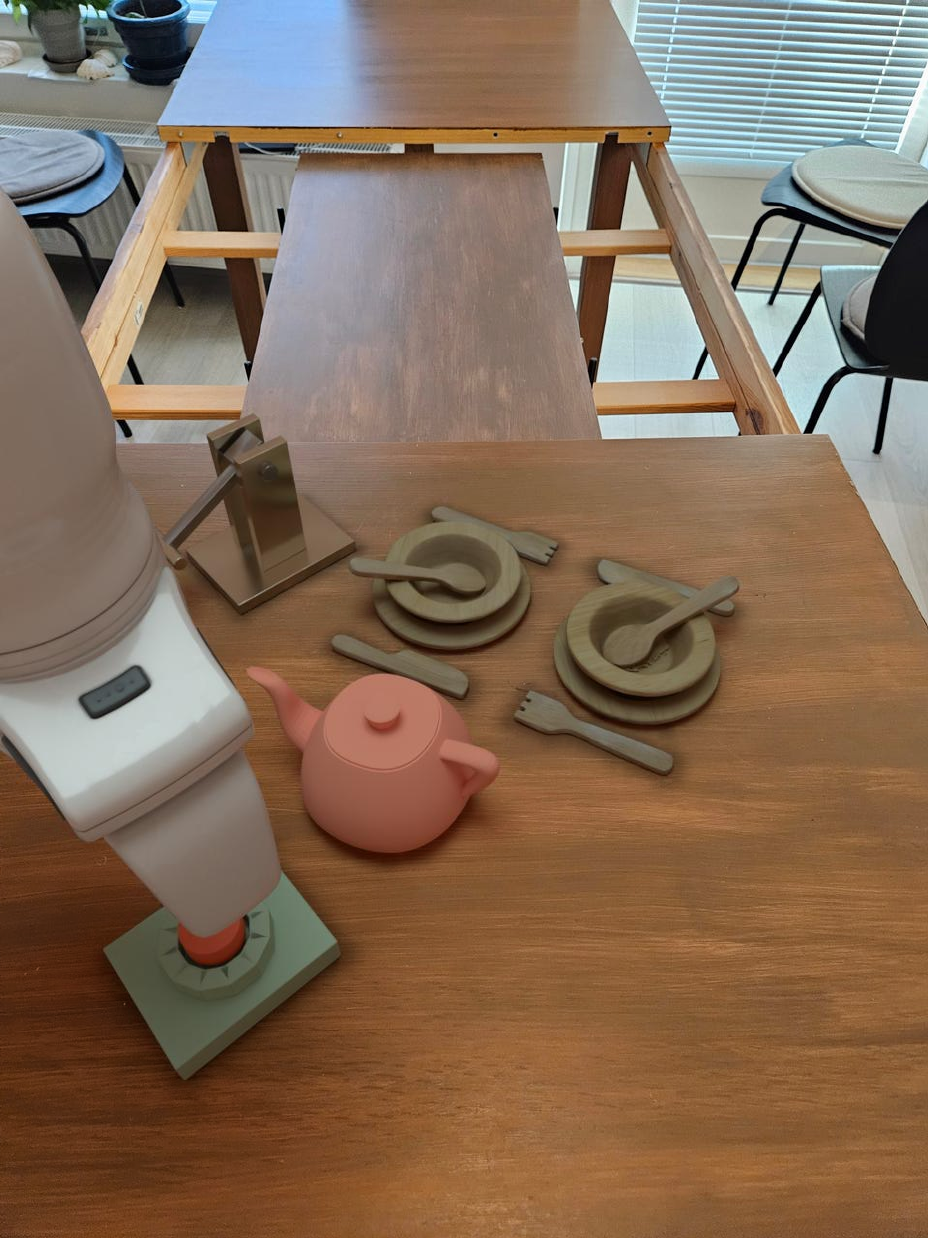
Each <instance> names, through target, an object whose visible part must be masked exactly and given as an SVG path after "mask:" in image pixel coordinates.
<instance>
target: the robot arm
mask: <svg viewBox="0 0 928 1238" xmlns="http://www.w3.org/2000/svg"><path fill="white" fill-rule="evenodd" d="M155 527H156V526H155V523H154V521H153V518H152V514H151V513H150V510H149V509H148V507H147V504H146V502H145V500H144V498H143V497H142V495H141V494H140V493H139V491H138V490H137V489H136V488H135V485H133V483H132V482H131V481H130V480H129V479H128V477H126V475H125V474H124V472H123V471H122V469H121V467H120V464H119V462H118V457H117V430H116V422H115V417H114V414H113V410H112V407H111V404H110V401H109V398H108V396H107V394H106V391H105V388H104V386H103V383H102V380H101V378H100V376H99V373H98V370H97V368H96V365H95V363H94V360H93V358H92V355H91V353H90V350H89V348H88V346H87V343H86V340H85V338H84V336H83V333H82V332H81V329H80V327H79V325H78V323H77V321H76V318H75V316H74V313H73V311H72V308H71V306H70V305H69V303H68V300H67V298H66V296H65V294H64V291H63V290H62V287H61V285H60V283H59V280H58V279H57V277H56V275H55V273H54V270H53V269H52V267H51V265H50V263H49V261H48V259H47V257H46V255H45V254H44V252H43V249H42V248H41V246H40V244H39V242H38V240H37V238H36V236H35V235H34V233H33V231H32V229H31V228H30V227H29V225H28V223H27V221H26V220H25V218H24V216H23V215H22V213H21V212H20V210H19V209H18V207H17V206H16V204H15V203H14V201H13V200H12V199H11V197H10V196H9V195H8V193H7V192H6V191H5V189H4V188H3V187H2V186H1V185H0V751H1V752H2V753H3V754H5V755H6V756H8V757H9V758H10V759H12V761H14V762H15V763H16V764H17V766H19V768H20V769H21V771H23V772H24V773H25V775H26V776H27V777H29V779H30V780H31V781H32V782H33V783H34V784H35V785H36V787H38V789H39V790H40V791H41V792H42V793H43V795H44V796H45V797H46V798H47V800H48V801H49V802H50V804H51V805H52V807H53V808H54V809H55V810H56V812H57V814H58V815H59V816H60V818H61V819H62V821H67V823H68V825H69V826H70V827H71V829H72V830H73V831H74V833H75V835H76V836H77V837H78V839H80V840H81V841H83V842H86V843H93V842H96V841H98V840H99V839H101V838H102V839H103V840H104V841H105V842H106V844H107V845H108V846H109V847H110V848H111V849H112V850H113V852H114V853H115V854H116V855H117V856H118V857H119V858H120V860H121V861H122V862H123V863H124V864H125V865H126V866H127V868H129V870H130V871H131V872H132V873H133V874H134V876H136V878H137V879H138V880H139V881H141V883H142V884H143V885H144V886H145V888H146V889H148V891H149V893H151V894H152V895H153V896H154V897H155V899H156V900H157V901H158V902H159V903H160V904H161V905H162V907H165V908H166V909H167V910H168V911H169V912H170V913H171V914H172V915H173V916H174V917H175V918H176V919H177V920H178V921H179V923H180V924H181V925H182V926H183V927H184V928H186V929H187V930H188V931H189V932H190V933H192V934H193V935H195V936H197V937H202V938H206V937H210V936H213V935H215V934H217V933H219V932H221V931H222V930H224V929H226V928H227V927H229V926H230V925H232V924H233V923H235V922H236V921H237V920H239V919H240V918H242V917H243V916H245V915H246V914H247V913H249V912H250V911H251V910H252V909H254V908H255V907H256V906H257V905H259V904H260V903H261V902H262V901H263V900H264V899H266V898H267V897H268V896H269V895H270V894H271V893H272V892H273V891H274V890H275V888H276V887H277V885H278V884H279V881H280V878H281V870H282V867H281V859H280V857H279V851H278V847H277V842H276V839H275V835H274V831H273V827H272V823H271V819H270V816H269V812H268V808H267V805H266V802H265V799H264V795H263V793H262V789H261V787H260V784H259V782H258V779H257V776H256V774H255V771H254V770H253V768H252V765H251V762H250V761H249V759H248V757H247V755H246V753H245V751H244V749H243V747H245V746H246V745H247V744H248V743H250V742H251V740H253V739H254V738H255V735H256V728H255V724H254V721H253V717H252V715H251V712H250V709H249V707H248V704H247V702H246V701H245V699H244V698H243V696H242V695H241V693H240V691H239V690H238V688H237V686H236V684H235V683H234V681H233V679H232V678H231V676H230V675H229V673H228V671H227V670H226V668H225V667H224V666H223V665H222V663H221V662H220V660H219V658H218V657H217V656H216V654H215V652H214V651H213V650H212V648H211V646H210V645H209V643H208V642H207V640H206V638H205V636H204V635H203V633H202V631H201V630H200V629H199V628H198V627H197V626H196V625H195V623H194V621H193V619H192V616H191V612H190V610H189V606H188V603H187V600H186V597H185V595H184V593H183V590H182V587H181V585H180V582H179V579H178V577H177V575H176V573H175V571H174V570H173V569H172V568H171V567H170V565H169V564H170V563H169V562H168V561H167V559H166V556H165V553H164V551H163V548H162V545H161V542H160V540H159V537H158V534H157V532H156V529H155Z"/></svg>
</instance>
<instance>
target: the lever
mask: <svg viewBox="0 0 928 1238" xmlns="http://www.w3.org/2000/svg"><path fill="white" fill-rule="evenodd" d="M261 444H264V443H263V442H262V441H260V440H259V439H258V438H257V437H256V436H255V435H253V434H252V433H251V432H250V431H249V430H247V429H246V430H245V432H244V433H243V434H242V435H241V436H240V437H239V438H238V439H237V440H236V441H235V442H234V443H233V445H232V446H231V447H230V448H229V449H228V450H227V451H226V452H225V453H224V454H223V455H224V456H225V457H226V458H227V459H228V460H230V461H231V462H232V463H231V464H230V465H229V466H228V467H227V468H226V469H225V470H224V471H223V473H222V474H221V475H220V476H219V477H218V478H216V479H215V480H214V481H213V483H211V485H210V486H208V487H207V488H206V490H205V491H204V492H202V494H201V495H200V496H199V498H198V499H196V500H195V502H194V503H193V504H192V505H191V506H190V507H189V508H188V509H187V510H186V511H185V512H184V513H183V515H182V516H181V517H180V518H179V519H178V520H177V521H176V522H175V523H174V524H173V526H171V528H169V530H168V531H167V532H166V533H165V534H164V533H163V532H162V531H161V530H160V529H159V528H158V527H157V526H155V529H156V532H157V534H158V537H159V540H160V542H161V545H162V548H163V551H164V553H165V556H166V559H167V562H168V564H170V565H171V567H172V568H174V570H176V571H183V570H184V569H185V568H186V567H187V566H188V563H189V562H188V561H189V559H188V558H187V557H186V556H185V555H184V554H183V553H182V552H181V551H180V550H179V548H180V547H181V546H182V544H184V542H185V541H186V540H187V539H188V538H189V537H190V536H191V535H192V534H193V533H194V532H195V531H196V529H198V527H199V526H200V525H201V524H202V523H203V522H204V521H205V519H206V518H207V517H209V515H210V514H211V513H212V512H213V511H214V510H215V509H216V508H217V507H218V505H219V504H220V503H221V502H222V501H224V500H223V499H224V498H225V497H226V495H227V494H228V493H229V492H230V491H231V490H232V489H233V488H234V487H235V486H236V485H237V484H238V478H237V474H236V470H235V466H234V462H233V458H234V457H236V456H238V455H240V454H242V453H244V452H247V451H249V450H251V449H253V448H255V447H257V446H259V445H261Z"/></svg>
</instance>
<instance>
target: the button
mask: <svg viewBox="0 0 928 1238" xmlns="http://www.w3.org/2000/svg"><path fill="white" fill-rule="evenodd" d="M245 935H246V925H245V922H244V919H243V917H242V918H240V919H239V920H237V921H236V922H235V923H233V924H232V925H230V926H229V927H227V928H226V929H224V930H222V931H221V932H219V933H217V934H215V935H213V936H210V937H206V938H202V937H197V936H195V935H193V934H192V933H190V932H189V931H188V930H187V929H186V928H184V927H183V926H182V925H181V924H180V923H179V924H178V937H179V940H180V942H181V944H182V946H183V947H184V949H185V951H186V952H187V954H188V955H189V957H190V958H191V959H192V960H193V961H195V962H196V963H199V964H201V965H206V966H212V965H218V964H221V963H224V962H226V961H228V960H229V959H231V958H232V957H233V956H234V955H235V954H236V953H237V952H238V951H239V949H240V948H241V946H242V944H243V942H244V939H245Z"/></svg>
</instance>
